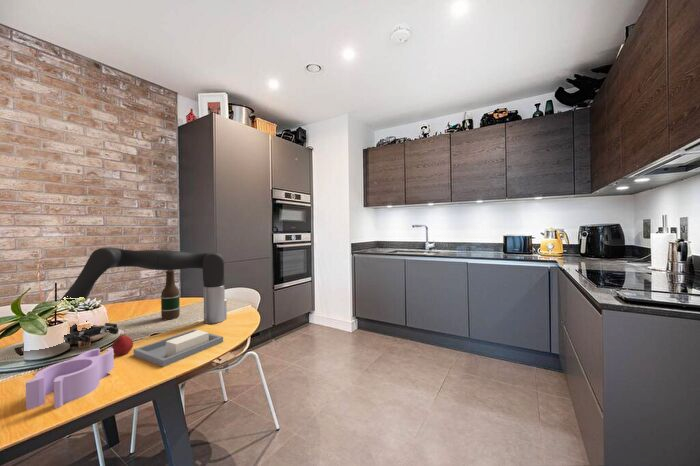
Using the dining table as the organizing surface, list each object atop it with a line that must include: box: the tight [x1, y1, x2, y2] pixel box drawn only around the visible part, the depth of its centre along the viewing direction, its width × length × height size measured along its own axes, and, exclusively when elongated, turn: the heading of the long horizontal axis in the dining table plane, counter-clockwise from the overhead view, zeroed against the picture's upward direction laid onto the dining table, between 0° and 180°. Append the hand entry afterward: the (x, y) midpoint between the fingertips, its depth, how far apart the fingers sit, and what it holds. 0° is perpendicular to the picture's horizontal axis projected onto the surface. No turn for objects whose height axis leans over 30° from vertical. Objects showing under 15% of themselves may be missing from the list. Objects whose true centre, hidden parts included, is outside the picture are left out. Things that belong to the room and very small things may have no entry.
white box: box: [166, 329, 210, 357], centre depth 101 cm, size 12×6×5 cm, turn 152°
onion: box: [111, 332, 134, 356], centre depth 99 cm, size 6×6×8 cm
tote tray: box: [132, 328, 224, 368], centre depth 103 cm, size 22×18×3 cm
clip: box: [25, 347, 115, 411], centre depth 80 cm, size 20×12×7 cm, turn 4°
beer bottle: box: [160, 270, 181, 321], centre depth 141 cm, size 8×8×24 cm
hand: (103, 335), depth 102 cm, fingers open, 8 cm apart
